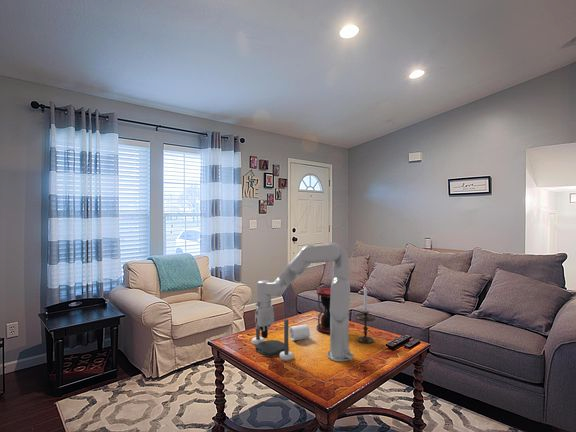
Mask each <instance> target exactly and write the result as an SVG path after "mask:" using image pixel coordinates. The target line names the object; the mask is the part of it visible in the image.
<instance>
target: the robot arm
mask: <svg viewBox="0 0 576 432" xmlns="http://www.w3.org/2000/svg"><path fill="white" fill-rule="evenodd" d="M330 262H332V280H331V284H330V288H331V295H330V334H329V335H330V336H329V337H330V339H329V340H330V341H329V343H330V347H329V348H330V350H329V351H328V352H327V356H326V357H327V358H328V359H329V360H332V361H334V362H339V363H340V362H341V363H342V362H348V361H352V360H353V358H354V356H355V355H354V354H353V353H351V349H350V348H349V345H350V343H349V342H350V341H349V340H350V339H349V336H350V335H349V333H350V332H349V331H350V328H349V327H350V325H349V324H350V323H349V322H350V319H349V318H350V317H349V315H350V304H351V303H350V302H351V301H350V300H351V286H350V259H349V255H348V252H347V251H346V249H345V248H344V247H343V246H341V244H339V243H337V242H333V241H330V242H327V243H326V244H325V245H313V244H310V243H309V244H305V246H303V247H302V248H301V249H300V250H299V252H298V253H297V254H296V255H295V256H294V257H293V258H292V260H291V261H290V262H288V264H287V266H286V268H285V269H284V270H283V271H282V272H281V274H280V275H279V276H278V277H277V278H276V279H275V280H274V281H273V282H271V281H269V280H268V279H266V280H265V279H264V280H263V279H262V280H259V281H257V283H256V299H257V300H256V303H255V306H256V308H255V312H254V313H255V315H254V323H255V329H256V328H257V329H260V337H263V338H264V339H267V338H268V334H269V333H268V331H269V330H270V327H272V325H273V324H275V313H274V312H275V311H274V307H273V305H272V297H276V298H277V297H280V296H282V295H283V294H284V293H285V291H286V290H287V288H288V287H289V286H290V285H291V284H292V283H293V281H295V279H297V278H298V277H300V276H301V275H302V274H303V273H304V272H305V271H306V269H307V268H308V267H309V266H311V264H318V263H320V264H321V263H330Z"/></svg>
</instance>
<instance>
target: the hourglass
mask: <svg viewBox="0 0 576 432" xmlns="http://www.w3.org/2000/svg"><path fill="white" fill-rule="evenodd" d="M316 295H317V306H318V308H319V314H318V316H317V325H316V331H317V332H319V333H321V334H325V335H330V295H331V287H321V288H317V289H316ZM320 302H321V303H320ZM320 304H321V305H323V307H324V311H323V308H322V307H321V305H320Z"/></svg>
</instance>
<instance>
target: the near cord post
mask: <svg viewBox="0 0 576 432" xmlns="http://www.w3.org/2000/svg"><path fill="white" fill-rule="evenodd" d="M283 336H284V337H283V339H284V340H283V343H284V351H283V352H281V353H280V354H279V359H280V360H281V361H285V362H289V361H291V360H293V359H294V353H293V352H292V351H289V348H290V347H289V345H290V344H289V319H288V318H285V319H283Z"/></svg>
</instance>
